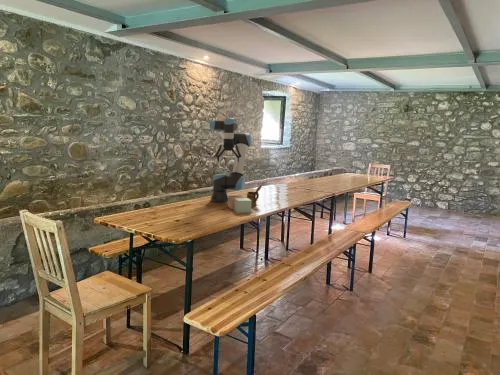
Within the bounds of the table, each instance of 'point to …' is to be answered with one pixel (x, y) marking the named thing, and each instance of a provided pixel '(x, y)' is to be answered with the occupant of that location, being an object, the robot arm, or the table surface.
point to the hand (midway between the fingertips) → (227, 166)
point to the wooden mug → (253, 196)
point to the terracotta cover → (232, 201)
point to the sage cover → (242, 205)
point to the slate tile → (237, 212)
